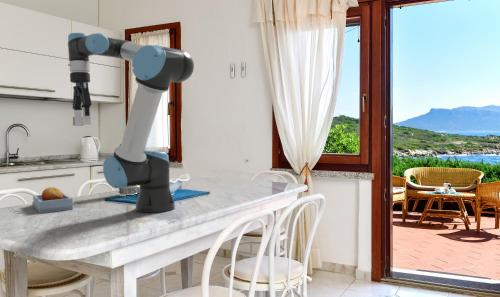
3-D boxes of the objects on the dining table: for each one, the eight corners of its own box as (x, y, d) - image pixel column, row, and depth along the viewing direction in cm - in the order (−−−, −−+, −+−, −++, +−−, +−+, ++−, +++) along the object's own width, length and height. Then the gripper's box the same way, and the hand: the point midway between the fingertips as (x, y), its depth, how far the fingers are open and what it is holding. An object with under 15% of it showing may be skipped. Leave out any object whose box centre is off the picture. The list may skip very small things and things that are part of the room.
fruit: (48, 198, 188) (55, 182, 187) (61, 208, 186) (68, 192, 185) (33, 201, 181) (40, 185, 179) (47, 212, 179) (54, 196, 177)
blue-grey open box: (62, 202, 197) (61, 192, 196) (72, 209, 178) (72, 198, 178) (32, 205, 190) (32, 194, 190) (40, 213, 172) (39, 201, 171)
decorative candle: (114, 196, 211) (112, 143, 209) (125, 193, 220) (123, 143, 218) (130, 196, 208) (128, 143, 207) (141, 193, 217) (139, 142, 215)
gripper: (63, 76, 186) (66, 126, 187) (77, 67, 166) (80, 124, 167) (81, 76, 191) (84, 125, 191) (97, 68, 170) (100, 123, 171)
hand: (82, 125), depth 179 cm, fingers open, 13 cm apart
